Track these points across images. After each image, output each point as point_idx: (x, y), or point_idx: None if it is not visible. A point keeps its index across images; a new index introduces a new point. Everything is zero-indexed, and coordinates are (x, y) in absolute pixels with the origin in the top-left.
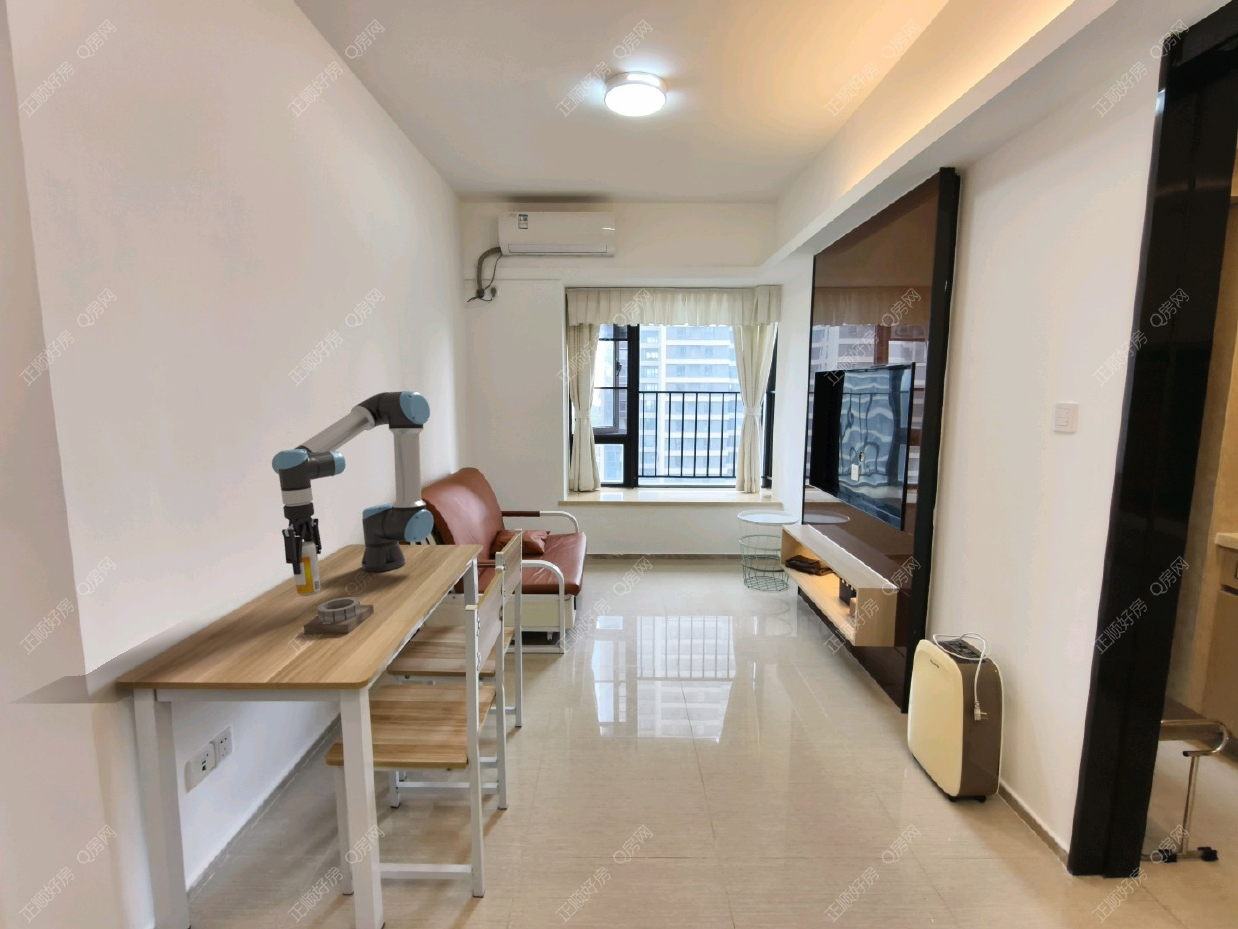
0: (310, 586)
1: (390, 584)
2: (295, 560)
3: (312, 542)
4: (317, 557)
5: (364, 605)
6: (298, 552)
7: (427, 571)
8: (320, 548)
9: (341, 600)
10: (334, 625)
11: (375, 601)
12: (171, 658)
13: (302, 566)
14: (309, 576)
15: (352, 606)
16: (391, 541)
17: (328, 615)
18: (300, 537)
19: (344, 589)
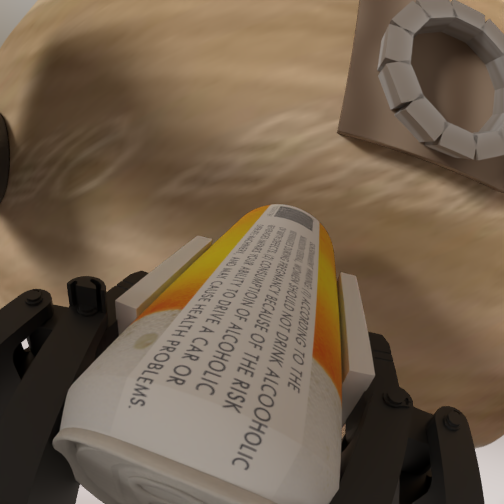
0: (328, 245)
1: (84, 56)
2: (458, 426)
3: (73, 438)
4: (109, 291)
5: (366, 7)
6: (395, 486)
7: (33, 22)
8: (38, 298)
9: (410, 69)
10: None
11: (232, 22)
12: (472, 424)
13: (368, 350)
14: (329, 269)
15: (493, 23)
16: None
17: None
18: None
19: (95, 188)
